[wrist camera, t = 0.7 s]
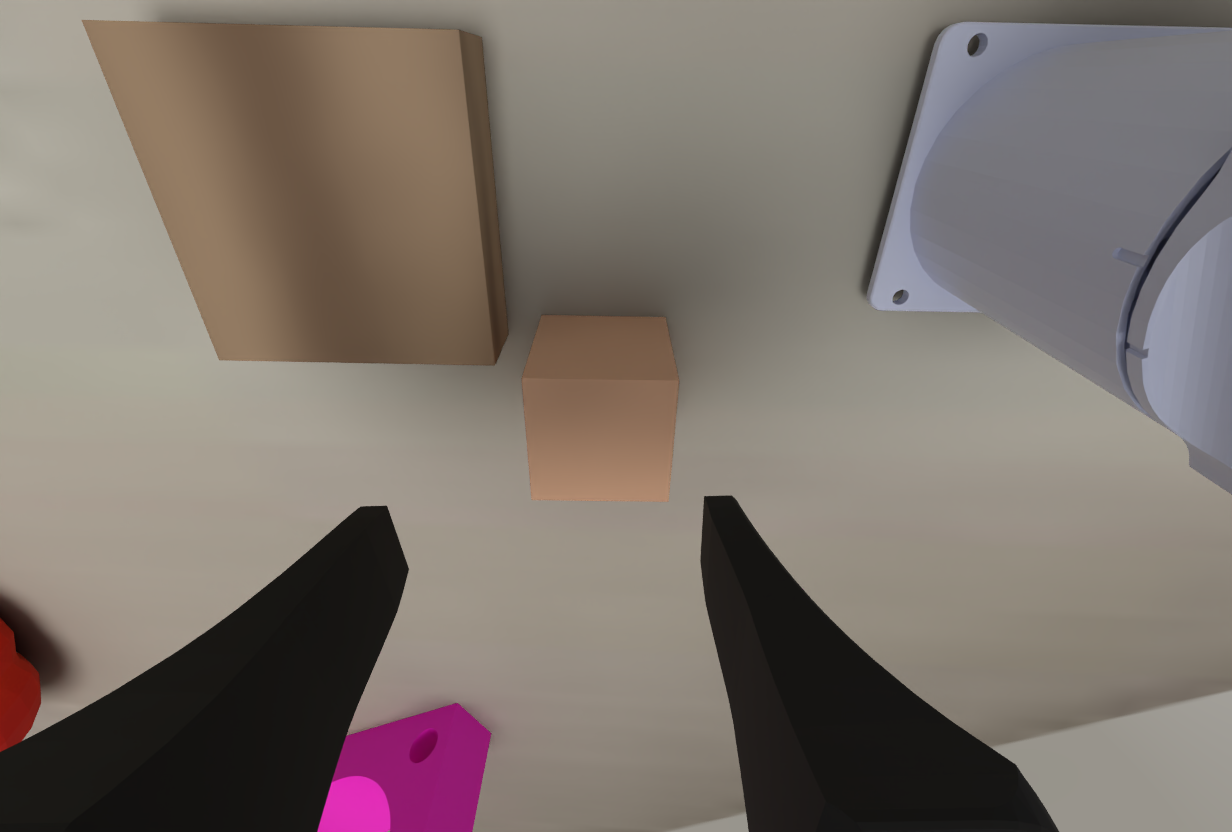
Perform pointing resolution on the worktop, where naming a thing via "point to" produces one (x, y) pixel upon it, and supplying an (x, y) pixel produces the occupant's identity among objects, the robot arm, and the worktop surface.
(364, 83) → the walnut block
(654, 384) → the terracotta block
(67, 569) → the worktop surface
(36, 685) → the tomato
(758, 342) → the worktop surface
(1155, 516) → the worktop surface
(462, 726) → the toy block
